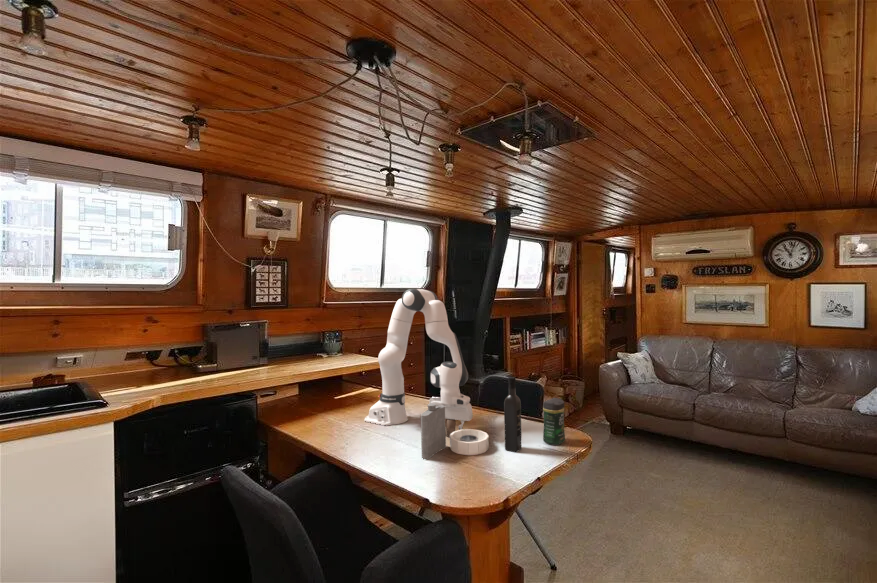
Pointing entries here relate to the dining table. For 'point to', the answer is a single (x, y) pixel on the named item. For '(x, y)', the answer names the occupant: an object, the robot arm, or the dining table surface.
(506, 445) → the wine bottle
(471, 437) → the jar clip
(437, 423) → the hip flask
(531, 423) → the dining table surface
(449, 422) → the walnut peg
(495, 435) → the dining table surface
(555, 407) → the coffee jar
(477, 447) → the white ring base
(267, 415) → the dining table surface
